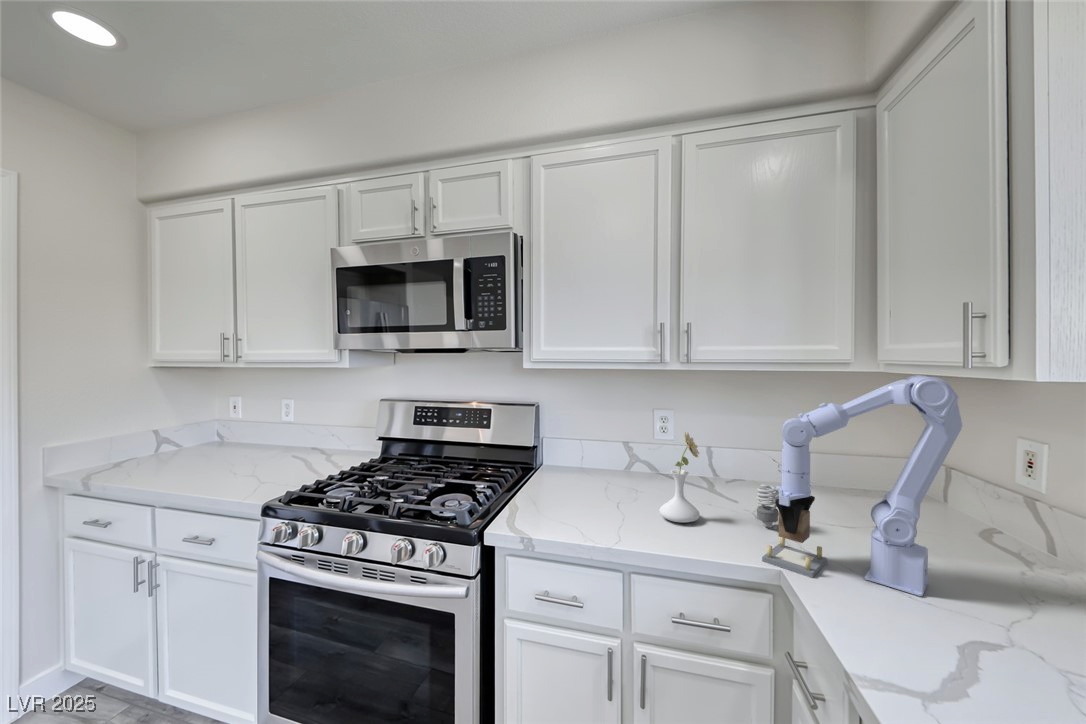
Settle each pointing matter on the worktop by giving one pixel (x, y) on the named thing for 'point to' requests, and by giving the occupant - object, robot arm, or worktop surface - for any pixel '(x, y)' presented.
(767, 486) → the light bulb
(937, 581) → the worktop surface
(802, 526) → the walnut block
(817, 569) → the standoff board
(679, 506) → the flower in vase
